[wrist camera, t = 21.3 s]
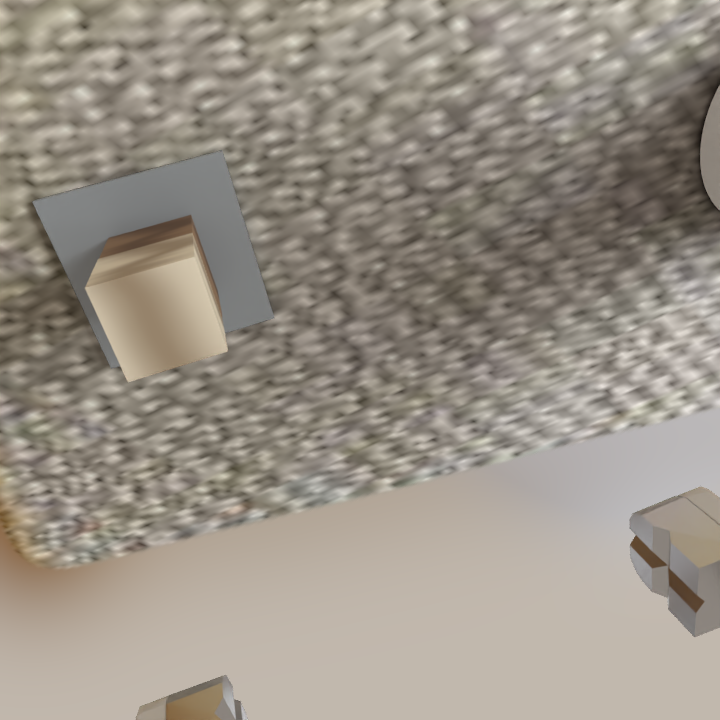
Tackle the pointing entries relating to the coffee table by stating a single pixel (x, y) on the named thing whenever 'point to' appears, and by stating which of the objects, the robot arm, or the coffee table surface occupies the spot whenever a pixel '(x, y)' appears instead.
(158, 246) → the beech cube
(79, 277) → the pad
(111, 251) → the walnut cube
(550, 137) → the coffee table surface
